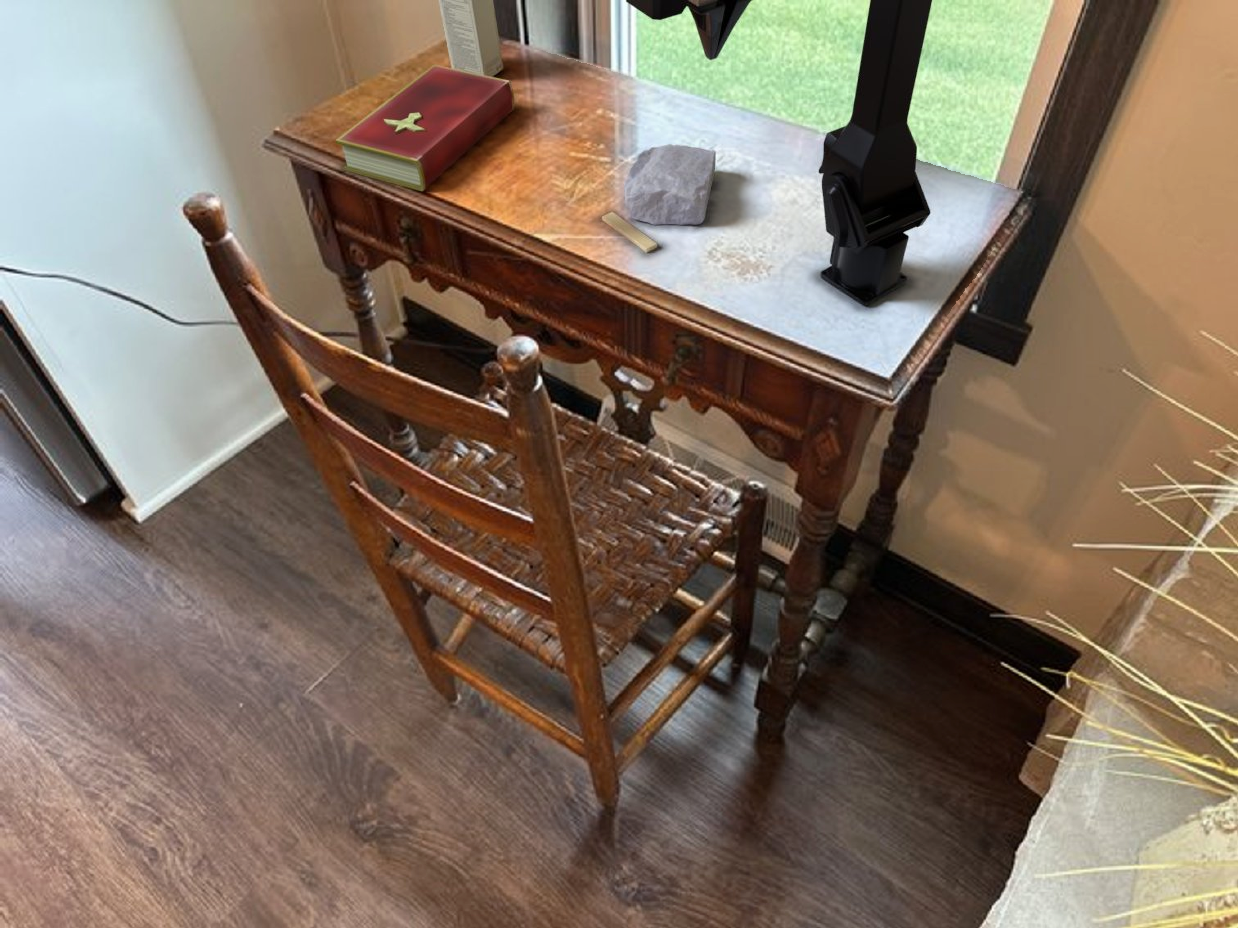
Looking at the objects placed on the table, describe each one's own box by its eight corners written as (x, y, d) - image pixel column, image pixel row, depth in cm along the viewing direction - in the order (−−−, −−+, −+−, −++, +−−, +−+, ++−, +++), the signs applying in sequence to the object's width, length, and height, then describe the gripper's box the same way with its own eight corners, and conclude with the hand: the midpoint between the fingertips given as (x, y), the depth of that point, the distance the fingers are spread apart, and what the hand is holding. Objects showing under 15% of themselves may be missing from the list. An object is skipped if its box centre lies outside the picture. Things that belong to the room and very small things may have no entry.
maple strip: (657, 247, 99) (657, 243, 99) (646, 252, 98) (646, 249, 98) (612, 215, 103) (612, 211, 103) (602, 220, 103) (601, 216, 102)
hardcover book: (515, 110, 120) (512, 79, 116) (425, 192, 107) (418, 159, 104) (439, 92, 123) (433, 62, 120) (343, 170, 111) (334, 138, 108)
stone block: (624, 236, 103) (711, 226, 101) (614, 198, 100) (704, 187, 97) (640, 182, 111) (721, 172, 109) (631, 145, 108) (715, 134, 105)
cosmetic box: (504, 70, 127) (492, -23, 118) (484, 83, 125) (471, -10, 116) (469, 60, 130) (455, -32, 120) (449, 72, 127) (433, -20, 118)
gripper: (747, -141, 96) (736, 11, 108) (595, -105, 90) (601, 52, 102) (814, -111, 90) (795, 46, 102) (656, -70, 84) (655, 92, 96)
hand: (711, 58), depth 101 cm, fingers closed
